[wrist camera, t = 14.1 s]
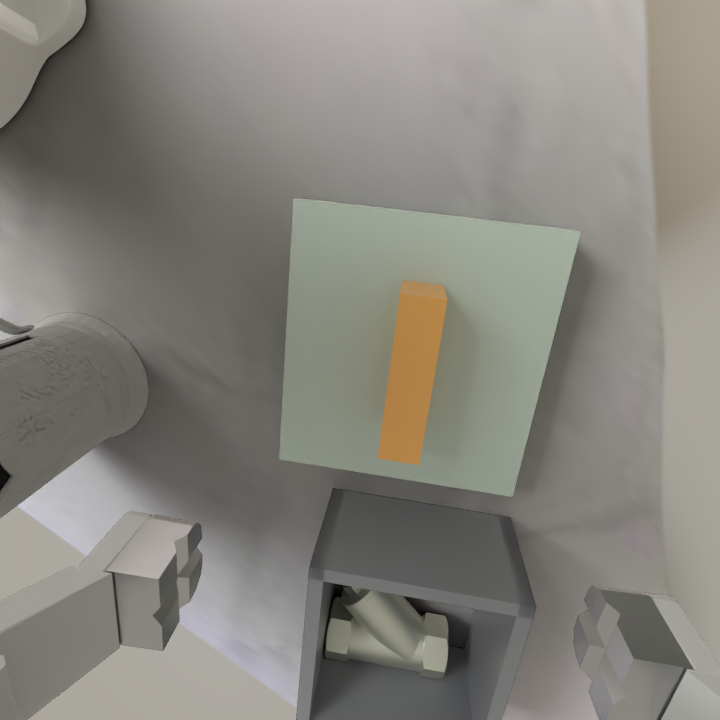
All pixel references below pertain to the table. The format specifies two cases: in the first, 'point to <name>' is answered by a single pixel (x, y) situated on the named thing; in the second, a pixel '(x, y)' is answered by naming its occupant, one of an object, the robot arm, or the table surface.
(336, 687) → the parts tub
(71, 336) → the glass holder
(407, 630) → the pipe fitting
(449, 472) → the lid
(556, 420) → the table surface
